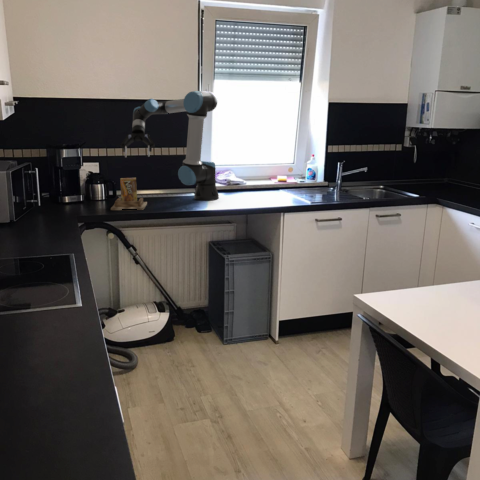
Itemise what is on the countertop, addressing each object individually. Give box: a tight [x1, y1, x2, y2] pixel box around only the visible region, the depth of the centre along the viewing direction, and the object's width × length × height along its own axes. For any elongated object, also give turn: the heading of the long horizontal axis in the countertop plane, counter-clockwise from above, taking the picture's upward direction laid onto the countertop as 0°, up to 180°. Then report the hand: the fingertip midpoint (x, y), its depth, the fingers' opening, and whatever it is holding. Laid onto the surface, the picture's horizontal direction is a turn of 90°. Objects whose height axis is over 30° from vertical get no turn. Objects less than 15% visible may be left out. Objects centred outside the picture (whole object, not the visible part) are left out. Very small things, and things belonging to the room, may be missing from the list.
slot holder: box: [110, 197, 148, 211], centre depth 306 cm, size 18×18×4 cm
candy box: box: [119, 177, 138, 201], centre depth 304 cm, size 9×4×15 cm, turn 102°
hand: (137, 155), depth 315 cm, fingers open, 13 cm apart
